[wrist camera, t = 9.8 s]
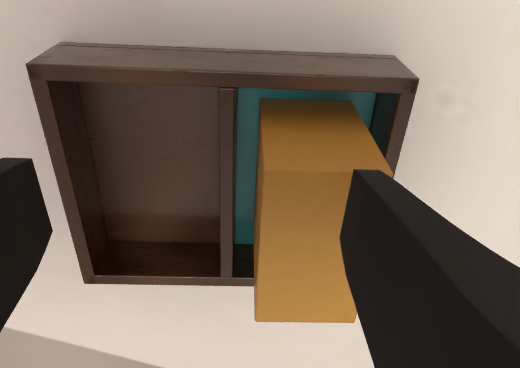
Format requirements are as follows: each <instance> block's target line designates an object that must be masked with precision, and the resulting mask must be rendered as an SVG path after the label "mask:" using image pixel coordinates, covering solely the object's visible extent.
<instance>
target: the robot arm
mask: <svg viewBox="0 0 520 368" xmlns="http://www.w3.org/2000/svg"><path fill="white" fill-rule="evenodd" d="M52 232H53V230H52V227H51V223H50V220H49V216H48V213H47V209H46V206H45V202H44V199H43V195H42V192H41V188H40V185H39V182H38V178H37V175H36V171H35V168H34V164H33V161H32V159H29V158H1V159H0V332H1V330H2V328H3V327H4V325H5V323H6V322H7V320H8V318H9V317H10V315H11V313H12V312H13V310H14V308H15V307H16V305H17V303H18V302H19V300H20V298H21V297H22V295H23V293H24V291H25V290H26V288H27V286H28V285H29V283H30V281H31V279H32V278H33V276H34V274H35V272H36V271H37V269H38V266H39V264H40V262H41V259H42V257H43V255H44V252H45V250H46V247H47V245H48V242H49V239H50V237H51V234H52ZM339 239H340V245H341V251H342V258H343V263H344V268H345V274H346V278H347V281H348V284H349V288H350V291H351V294H352V297H353V300H354V304H355V307H356V310H357V313H358V316H359V319H360V322H361V326H362V329H363V332H364V335H365V338H366V341H367V344H368V348H369V351H370V354H371V357H372V360H373V363H374V367H375V368H520V268H519V267H518V266H516V265H514V264H513V263H511V262H509V261H507V260H506V259H504V258H503V257H501V256H499V255H498V254H496V253H495V252H493V251H492V250H490V249H489V248H487V247H486V246H484V245H483V244H481V243H480V242H478V241H477V240H475V239H474V238H472V237H471V236H469V235H468V234H466V233H465V232H463V231H462V230H460V229H459V228H458V227H456V226H455V225H453V224H452V223H451V222H449V221H448V220H447V219H445V218H444V217H442V216H441V215H440V214H438V213H437V212H436V211H434V210H433V209H432V208H430V207H429V206H428V205H426V204H425V203H424V202H423V201H421V200H420V199H419V198H417V197H416V196H415V195H413V194H412V193H411V192H410V191H408V190H407V189H406V188H404V187H403V186H402V185H400V184H399V183H398V182H397V181H395V180H394V179H392V178H391V177H390V176H388V175H387V174H385V173H384V172H382V171H381V170H366V169H353V174H352V179H351V184H350V189H349V194H348V198H347V203H346V208H345V213H344V218H343V223H342V227H341V232H340V237H339Z"/></svg>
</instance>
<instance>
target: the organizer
mask: <svg viewBox="0 0 520 368" xmlns="http://www.w3.org/2000/svg"><path fill="white" fill-rule="evenodd" d="M26 67H27V71H28V75H29V79H30V82H31V86H32V90H33V94H34V97H35V101H36V105H37V109H38V112H39V116H40V120H41V124H42V127H43V131H44V135H45V138H46V142H47V146H48V150H49V153H50V157H51V161H52V165H53V168H54V172H55V176H56V180H57V183H58V187H59V191H60V195H61V198H62V202H63V206H64V210H65V213H66V217H67V221H68V225H69V228H70V232H71V236H72V239H73V243H74V247H75V251H76V254H77V258H78V262H79V266H80V269H81V273H82V277H83V281H84V284H138V285H201V286H254V206H255V184H256V163H257V142H258V120H259V100H260V99H261V98H267V99H295V100H323V101H351V102H353V104H354V106H355V108H356V109H357V111H358V113H359V115H360V116H361V118H362V120H363V122H364V123H365V125H366V127H367V129H368V130H369V132H370V134H371V136H372V137H373V139H374V141H375V143H376V144H377V146H378V148H379V150H380V151H381V153H382V155H383V157H384V158H385V160H386V162H387V164H388V165H389V167H390V169H391V171H392V172H393V177H392V179H393V178H394V174H395V170H396V166H397V162H398V159H399V155H400V151H401V147H402V144H403V140H404V136H405V132H406V128H407V125H408V121H409V117H410V113H411V109H412V106H413V102H414V98H415V94H416V91H417V87H418V83H419V78H418V77H417V76H416V75H415V74H414V73H413V72H411V71H410V70H409V69H408V68H407V67H406V66H405V65H404V64H403V63H402V62H401V61H400V60H398V59H397V58H396V57H395V56H385V55H360V54H336V53H311V52H287V51H262V50H238V49H213V48H188V47H164V46H139V45H115V44H90V43H66V42H60V43H58V44H56V45H55V46H53V47H51V48H50V49H48V50H47V51H45V52H44V53H42V54H40V55H39V56H37V57H36V58H34V59H32V60H31V61H29V62H28V63H26Z"/></svg>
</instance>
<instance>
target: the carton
mask: <svg viewBox="0 0 520 368" xmlns="http://www.w3.org/2000/svg"><path fill="white" fill-rule="evenodd" d="M353 169H366V170H381V171H382V172H384V173H385V174H387V175H388V176H390V177H391V178H392V177H393V172H392V171H391V169H390V167H389V165H388V164H387V162H386V160H385V158H384V157H383V155H382V153H381V151H380V150H379V148H378V146H377V144H376V143H375V141H374V139H373V137H372V136H371V134H370V132H369V130H368V129H367V127H366V125H365V123H364V122H363V120H362V118H361V116H360V115H359V113H358V111H357V109H356V108H355V106H354V104H353V102H351V101H323V100H295V99H267V98H261V99H260V100H259V120H258V142H257V163H256V184H255V206H254V305H255V321H256V322H326V323H354V322H355V319H356V315H357V310H356V307H355V304H354V300H353V297H352V294H351V291H350V288H349V284H348V281H347V278H346V274H345V268H344V263H343V258H342V251H341V245H340V239H339V237H340V232H341V227H342V223H343V218H344V213H345V208H346V203H347V198H348V194H349V189H350V184H351V179H352V174H353Z"/></svg>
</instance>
